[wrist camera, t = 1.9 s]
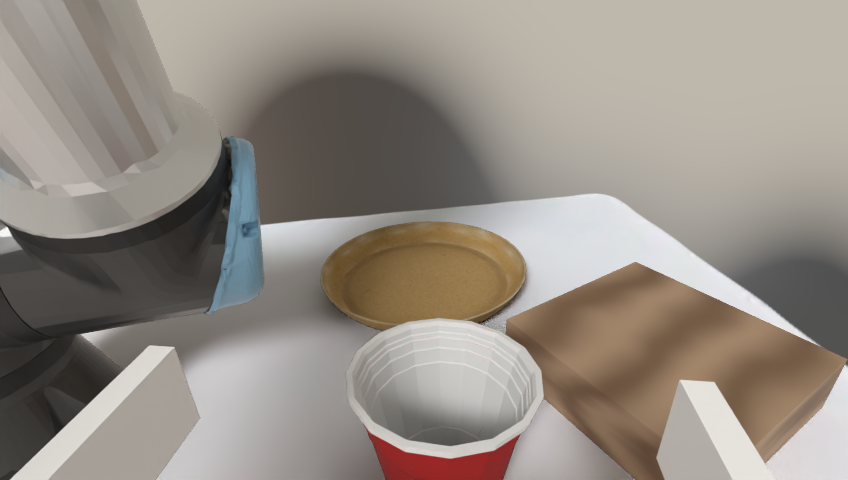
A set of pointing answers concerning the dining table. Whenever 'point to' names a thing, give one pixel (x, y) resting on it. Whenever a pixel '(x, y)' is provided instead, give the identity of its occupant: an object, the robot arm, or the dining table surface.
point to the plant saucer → (423, 274)
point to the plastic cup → (444, 399)
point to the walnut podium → (667, 363)
